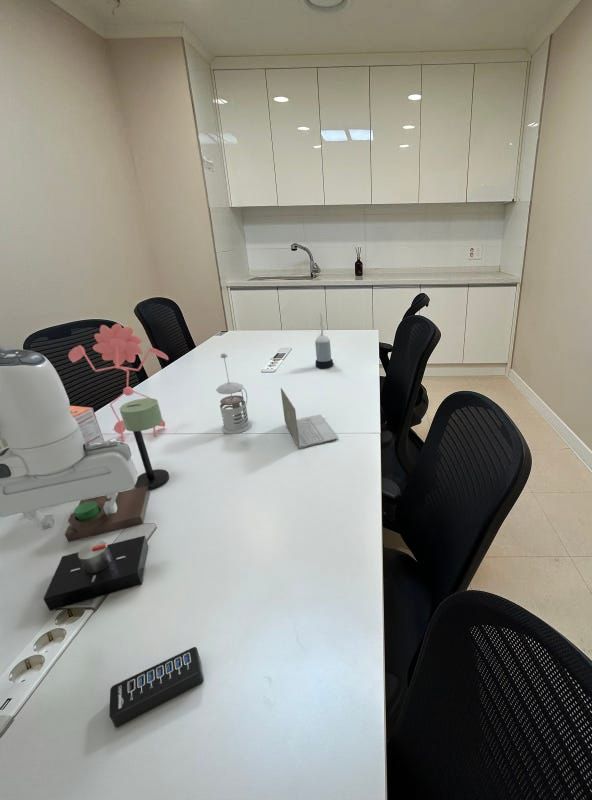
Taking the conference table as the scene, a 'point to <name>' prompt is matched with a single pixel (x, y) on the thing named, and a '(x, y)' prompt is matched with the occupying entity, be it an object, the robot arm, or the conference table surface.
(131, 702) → the multiport hub
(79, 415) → the cracker box
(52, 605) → the dimmer panel
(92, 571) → the dimmer knob
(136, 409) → the desk lamp
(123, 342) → the figurine
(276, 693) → the conference table surface
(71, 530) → the brown green button box
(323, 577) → the conference table surface
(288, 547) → the conference table surface
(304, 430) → the laptop
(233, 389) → the french press
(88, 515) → the lamp switch
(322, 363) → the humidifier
